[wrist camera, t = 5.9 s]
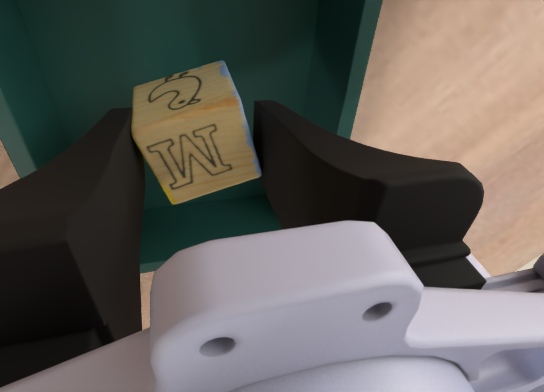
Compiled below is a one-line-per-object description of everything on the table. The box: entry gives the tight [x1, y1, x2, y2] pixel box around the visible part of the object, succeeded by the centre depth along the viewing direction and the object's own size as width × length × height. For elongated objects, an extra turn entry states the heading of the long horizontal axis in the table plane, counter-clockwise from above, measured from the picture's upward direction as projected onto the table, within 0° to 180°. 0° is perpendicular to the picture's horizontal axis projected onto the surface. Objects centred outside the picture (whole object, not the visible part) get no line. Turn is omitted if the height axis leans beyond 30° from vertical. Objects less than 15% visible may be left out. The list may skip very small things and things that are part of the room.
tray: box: [0, 0, 382, 273], centre depth 13 cm, size 13×11×4 cm
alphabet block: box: [131, 60, 262, 204], centre depth 11 cm, size 3×3×3 cm
